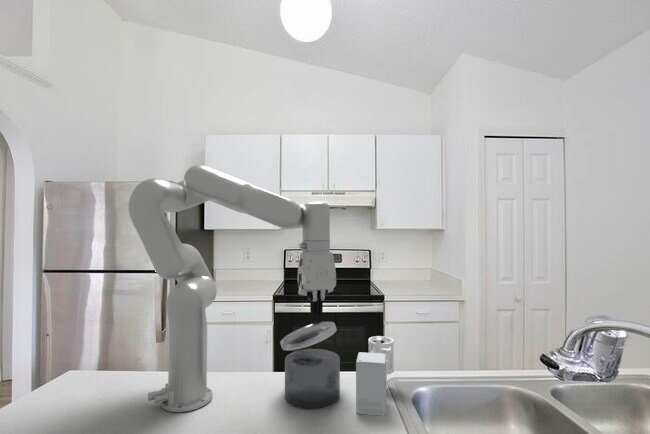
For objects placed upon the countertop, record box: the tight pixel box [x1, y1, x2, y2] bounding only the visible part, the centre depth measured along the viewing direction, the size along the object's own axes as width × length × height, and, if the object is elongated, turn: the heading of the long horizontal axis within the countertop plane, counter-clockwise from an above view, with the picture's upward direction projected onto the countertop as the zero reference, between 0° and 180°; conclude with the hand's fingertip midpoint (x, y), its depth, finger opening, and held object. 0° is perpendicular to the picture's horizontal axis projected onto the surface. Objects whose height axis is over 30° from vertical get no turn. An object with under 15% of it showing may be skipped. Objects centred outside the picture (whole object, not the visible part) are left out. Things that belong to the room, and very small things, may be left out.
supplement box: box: [355, 351, 387, 417], centre depth 86 cm, size 7×7×13 cm
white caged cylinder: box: [368, 335, 395, 392], centre depth 96 cm, size 7×7×15 cm
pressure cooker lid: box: [279, 321, 337, 351], centre depth 95 cm, size 16×16×4 cm
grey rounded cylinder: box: [284, 348, 341, 411], centre depth 93 cm, size 15×15×10 cm
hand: (316, 315), depth 92 cm, fingers closed
